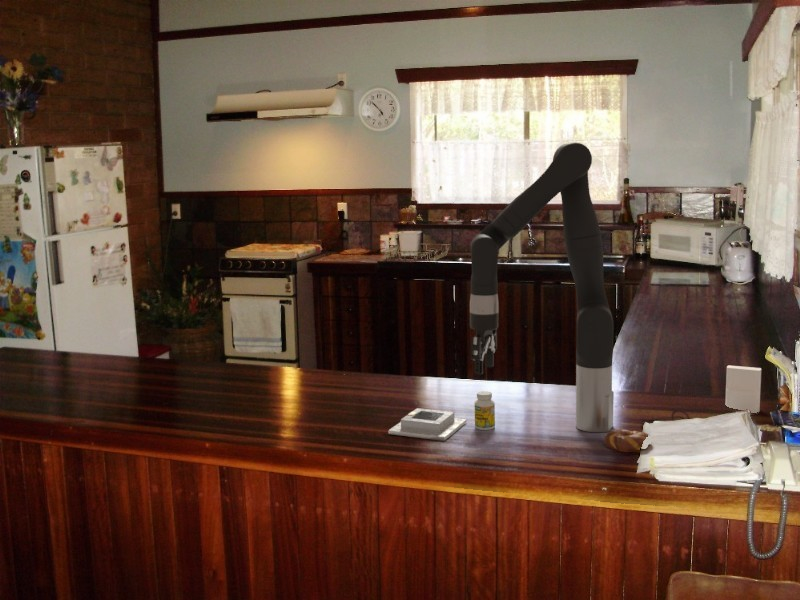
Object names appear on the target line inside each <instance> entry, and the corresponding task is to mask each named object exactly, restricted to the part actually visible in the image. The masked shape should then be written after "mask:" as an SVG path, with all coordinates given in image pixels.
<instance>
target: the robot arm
mask: <svg viewBox="0 0 800 600" xmlns="http://www.w3.org/2000/svg"><path fill="white" fill-rule="evenodd" d="M592 162H593V156H592V153H591V151H590V149H589V148H588V147H587V146H586V145H585V144H583V143H580V142H577V141H571V142H565V143H564V144H561V145H560V146H559V147H558V148H557V149H556V151H555V152H554V155H553V156H552V161H551V163H550V165H548V167H547V168H546V169H545V171H544V172H543V173H541V175H540V176H539V177H538V178H537V179H536V180H535V181H534V182H533V183H532V184H531V185H530V186H528V187H527V188H526V189H525V190H524V191H522V192H521V193H520V194H519V195H518V196H516V197H515V198H514V199H513V200H512V201H511V202H510V203H509V204H508V205H507V206H506V207H505V208H504V209H503V210H501V212H500V213H499V214H498V215H497V216H496V217H495V219H494V220H493V221H491V222H490V223H489V224H488V225H486V226H485V227H484V228H483V229H482V230H480V232H479V233H477V235H475V236H474V237H473V239H472V240H471V242H470V247H469V249H470V259H471V275H470V297H469V298H470V299H469V327H470V329H471V330H475V336H470V356H469V357H470V360H472V361H473V364H474V365H473V367H474V369H473V374H474V375H477V376H478V375H479V376H482V375H483V374H484V366H485V367H486V368H493V367H494V365H495V364H494V362H495V361H494V359H495V358H494V354H495V352H496V350H497V349H498V328H499V294H498V293H499V291H498V289H499V287H498V264H499V250H500V249H501V248H502V247H504V245H505V244H506V243H507V242H508V241H509V240H511V239H513V238H514V237H516V236H517V235H518V234H519V233H520V232H521V231H522V230H524V228H525V227H527V225H528V224H529V223H531V222H532V220H533V219H534V218H536V217H537V215H538V214H539V213H540V212H541V211H542V210H543V209H544V208H545V207H546V206H547V205H548V203H550V202H551V201H552V200H553V199H554V198H555V197H556V196H557V195H558V194H559V193H560V198H561V208H562V211H561V212H562V224H563V225H562V226H563V227H562V229H563V236H564V244H565V249H566V251H565V252H566V257H567V260H568V265H569V267H570V268H569V269H570V271H571V274H572V278H573V280H574V285H575V292H576V311H577V312H576V314H577V315H576V353H575V355H576V356H575V357H576V365H575V367H576V369H575V370H576V371H575V373H576V375H575V376H576V377H575V379H576V380H575V381H576V382H575V387H576V389H575V428H577V429H578V430H580V431H582V432H588V433H589V432H591V433H603V432H605V433H606V432H607V433H608V432H610V431H611V429H612V427H614V397H615V395H614V391H613V390H612V389H613V357H614V356H613V355H614V326H615V325H614V319H613V313H612V312H611V309H610V305H609V302H608V298H607V294H606V288H605V284H604V283H605V282H604V249H603V241H602V234H601V229H600V228H601V227H600V224H599V219H598V216H597V214H596V210H595V207H594V205H593V201H592V197H591V195H590V187H589V171H590V169H591V166H592Z"/></svg>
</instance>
